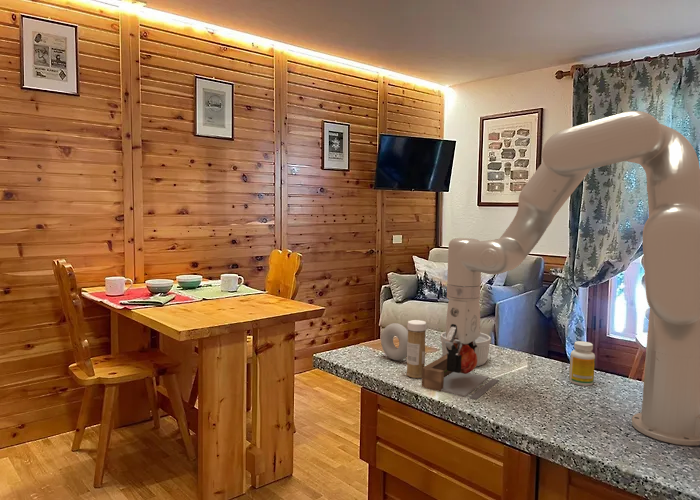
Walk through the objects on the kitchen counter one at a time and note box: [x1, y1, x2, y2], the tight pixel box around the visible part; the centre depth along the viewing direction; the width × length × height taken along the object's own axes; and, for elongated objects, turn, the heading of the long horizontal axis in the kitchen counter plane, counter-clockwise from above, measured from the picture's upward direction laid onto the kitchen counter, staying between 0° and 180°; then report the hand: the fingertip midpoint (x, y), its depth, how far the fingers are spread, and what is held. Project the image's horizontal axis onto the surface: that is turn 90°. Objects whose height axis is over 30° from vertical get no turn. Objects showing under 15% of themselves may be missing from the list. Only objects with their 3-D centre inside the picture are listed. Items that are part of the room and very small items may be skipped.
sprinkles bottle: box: [405, 319, 427, 379], centre depth 126 cm, size 5×5×13 cm
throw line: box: [469, 378, 500, 400], centre depth 118 cm, size 2×15×1 cm, turn 146°
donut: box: [380, 322, 408, 362], centre depth 138 cm, size 10×4×10 cm, turn 43°
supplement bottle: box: [568, 340, 596, 387], centre depth 124 cm, size 5×5×10 cm
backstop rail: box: [421, 354, 462, 392], centre depth 124 cm, size 5×16×4 cm, turn 146°
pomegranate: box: [444, 343, 477, 374], centre depth 121 cm, size 7×7×10 cm
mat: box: [440, 372, 490, 398], centre depth 122 cm, size 8×15×1 cm, turn 146°
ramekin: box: [440, 331, 492, 367], centre depth 139 cm, size 13×13×7 cm
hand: (460, 366), depth 121 cm, fingers closed on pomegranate, 7 cm apart
